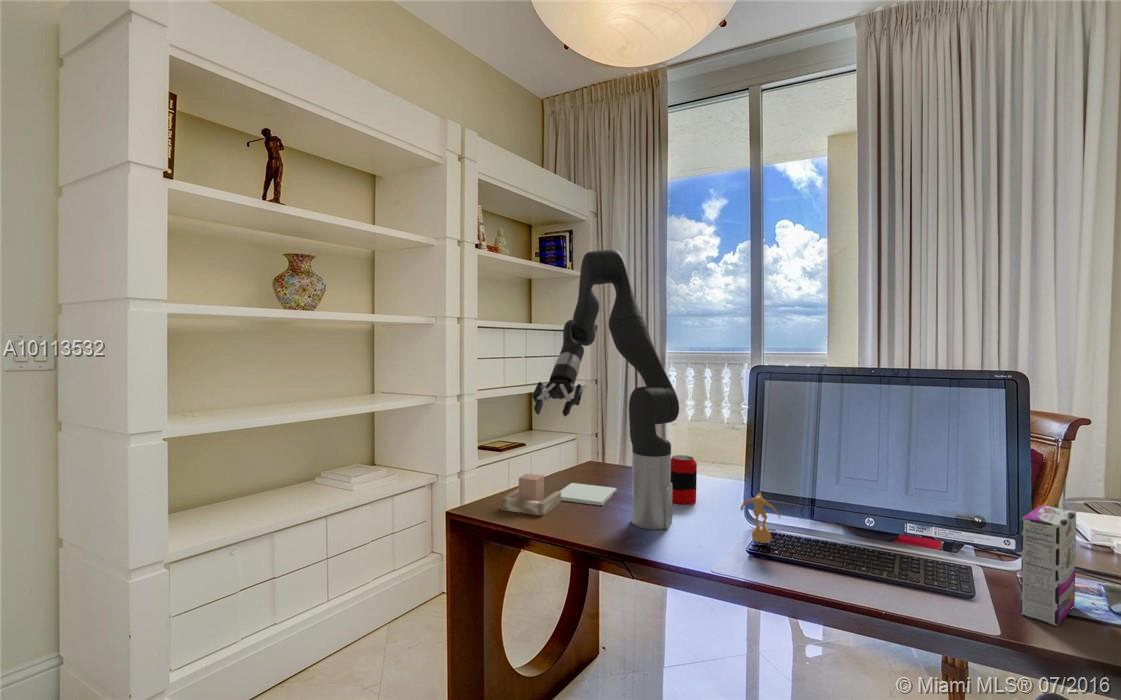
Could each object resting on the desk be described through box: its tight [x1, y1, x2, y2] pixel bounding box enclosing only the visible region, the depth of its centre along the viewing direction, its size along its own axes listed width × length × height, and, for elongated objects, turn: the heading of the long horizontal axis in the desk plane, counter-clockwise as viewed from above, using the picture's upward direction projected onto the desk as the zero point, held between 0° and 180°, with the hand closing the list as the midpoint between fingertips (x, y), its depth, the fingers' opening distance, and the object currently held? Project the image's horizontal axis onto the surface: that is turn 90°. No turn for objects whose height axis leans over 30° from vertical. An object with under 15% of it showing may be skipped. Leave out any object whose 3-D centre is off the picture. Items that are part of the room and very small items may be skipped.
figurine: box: [740, 492, 781, 544], centre depth 116 cm, size 8×6×12 cm
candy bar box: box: [1020, 504, 1077, 627], centre depth 89 cm, size 11×5×16 cm, turn 126°
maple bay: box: [500, 487, 562, 517], centre depth 142 cm, size 12×12×3 cm
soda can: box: [671, 454, 698, 506], centre depth 148 cm, size 8×8×12 cm
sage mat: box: [559, 482, 618, 506], centre depth 152 cm, size 14×14×1 cm
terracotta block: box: [518, 473, 545, 502], centre depth 142 cm, size 5×5×8 cm
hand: (550, 413), depth 153 cm, fingers open, 8 cm apart
